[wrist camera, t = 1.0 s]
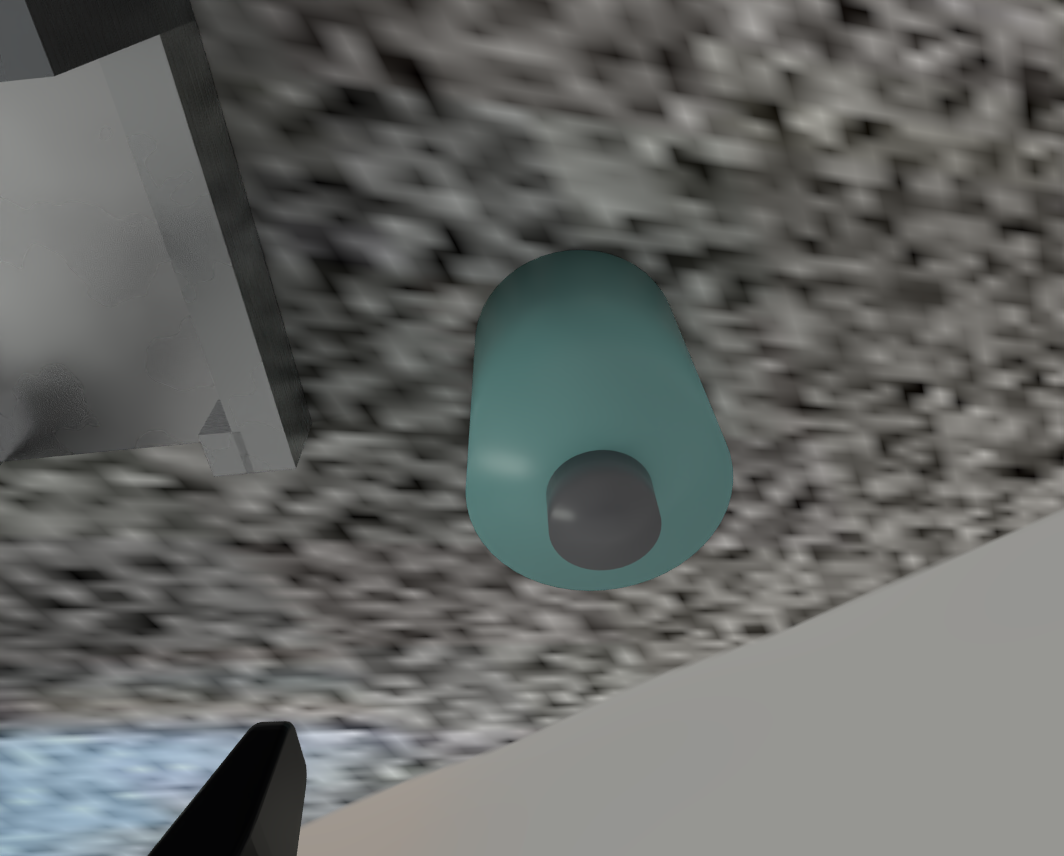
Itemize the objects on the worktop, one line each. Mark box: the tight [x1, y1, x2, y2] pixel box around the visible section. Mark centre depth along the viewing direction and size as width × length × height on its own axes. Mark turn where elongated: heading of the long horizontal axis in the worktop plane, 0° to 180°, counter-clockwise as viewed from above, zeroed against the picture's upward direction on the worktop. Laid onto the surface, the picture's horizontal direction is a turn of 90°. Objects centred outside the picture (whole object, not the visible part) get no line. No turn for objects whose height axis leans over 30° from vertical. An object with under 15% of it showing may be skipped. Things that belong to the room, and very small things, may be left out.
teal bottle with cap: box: [466, 250, 733, 591], centre depth 17 cm, size 5×5×7 cm
